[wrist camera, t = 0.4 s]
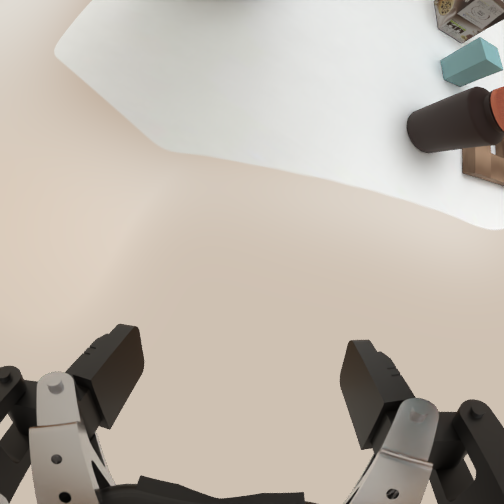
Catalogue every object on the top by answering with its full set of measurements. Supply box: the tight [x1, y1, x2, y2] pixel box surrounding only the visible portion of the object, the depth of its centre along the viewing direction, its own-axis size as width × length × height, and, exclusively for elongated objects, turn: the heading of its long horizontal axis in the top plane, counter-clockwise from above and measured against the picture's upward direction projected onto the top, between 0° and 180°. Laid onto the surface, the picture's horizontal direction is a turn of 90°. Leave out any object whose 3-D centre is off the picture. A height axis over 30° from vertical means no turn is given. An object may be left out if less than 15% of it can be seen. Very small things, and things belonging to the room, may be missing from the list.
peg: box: [441, 37, 503, 87], centre depth 24 cm, size 4×4×12 cm
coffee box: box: [434, 0, 504, 43], centre depth 19 cm, size 9×6×16 cm
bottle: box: [407, 87, 504, 153], centre depth 23 cm, size 7×7×20 cm
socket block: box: [462, 137, 504, 186], centre depth 30 cm, size 14×14×4 cm
